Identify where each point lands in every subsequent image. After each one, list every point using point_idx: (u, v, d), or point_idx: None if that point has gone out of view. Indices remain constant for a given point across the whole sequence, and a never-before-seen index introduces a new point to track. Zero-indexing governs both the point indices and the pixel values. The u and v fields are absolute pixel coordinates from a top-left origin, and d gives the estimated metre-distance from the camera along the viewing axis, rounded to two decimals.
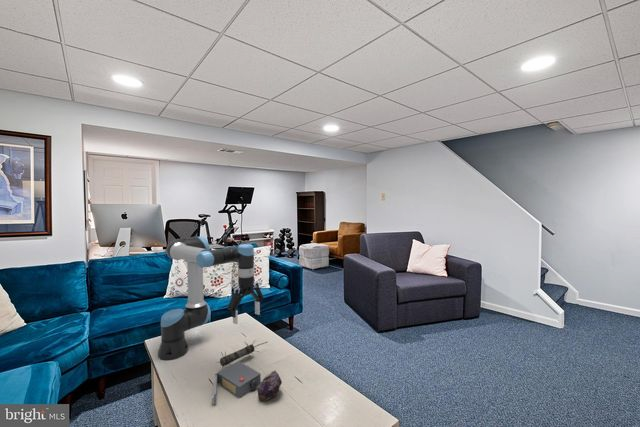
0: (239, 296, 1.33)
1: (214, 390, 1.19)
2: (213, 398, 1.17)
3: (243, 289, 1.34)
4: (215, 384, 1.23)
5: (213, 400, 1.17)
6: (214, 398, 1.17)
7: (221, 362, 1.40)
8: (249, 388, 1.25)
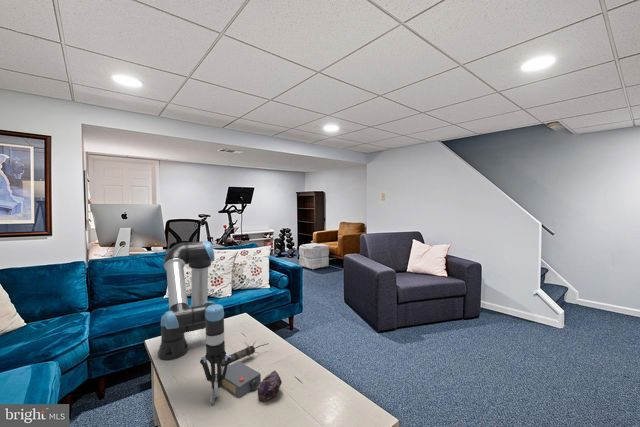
0: (220, 364, 1.21)
1: (213, 390, 1.19)
2: (211, 398, 1.17)
3: None
4: None
5: (211, 400, 1.17)
6: (212, 398, 1.17)
7: None
8: (249, 388, 1.25)
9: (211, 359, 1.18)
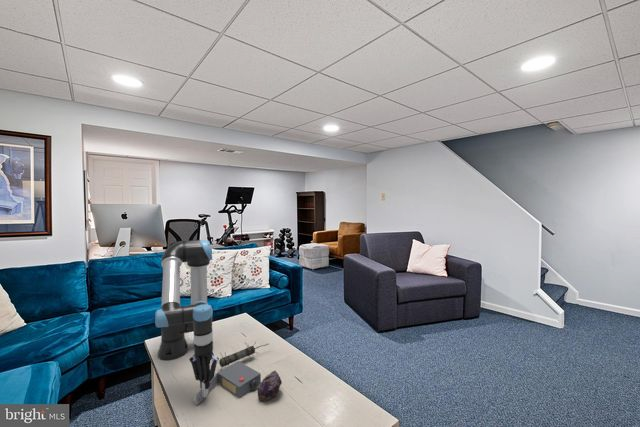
0: (208, 365, 1.20)
1: (200, 390, 1.19)
2: (195, 398, 1.17)
3: None
4: None
5: (195, 400, 1.17)
6: (196, 399, 1.17)
7: (220, 363, 1.40)
8: (249, 388, 1.25)
9: (198, 359, 1.18)
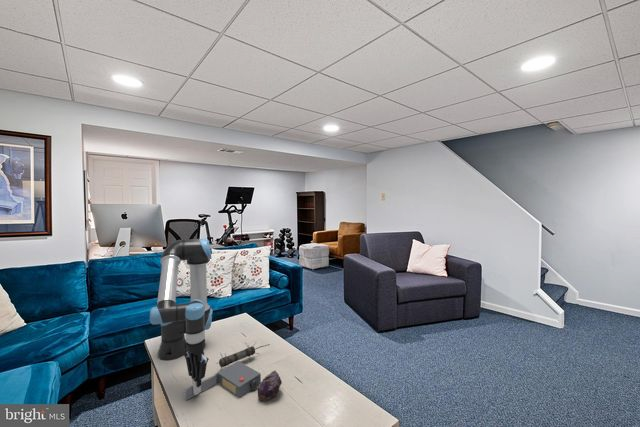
0: (199, 364, 1.21)
1: (191, 386, 1.22)
2: (184, 393, 1.20)
3: None
4: None
5: (184, 395, 1.20)
6: (185, 394, 1.20)
7: (220, 363, 1.39)
8: (249, 388, 1.25)
9: (190, 356, 1.20)
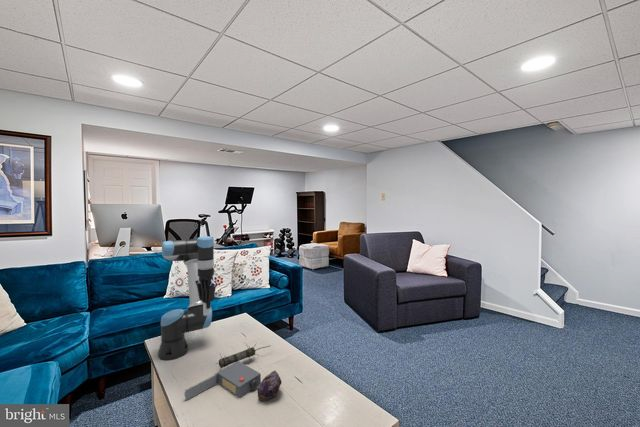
0: (209, 288, 1.38)
1: (191, 386, 1.22)
2: (184, 393, 1.20)
3: None
4: (200, 382, 1.25)
5: (184, 395, 1.20)
6: (185, 393, 1.20)
7: (219, 363, 1.39)
8: (249, 388, 1.25)
9: (200, 281, 1.37)
